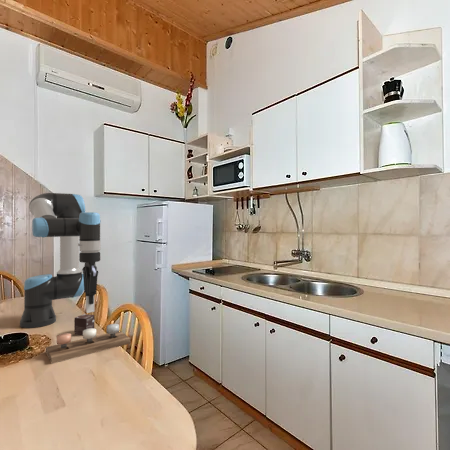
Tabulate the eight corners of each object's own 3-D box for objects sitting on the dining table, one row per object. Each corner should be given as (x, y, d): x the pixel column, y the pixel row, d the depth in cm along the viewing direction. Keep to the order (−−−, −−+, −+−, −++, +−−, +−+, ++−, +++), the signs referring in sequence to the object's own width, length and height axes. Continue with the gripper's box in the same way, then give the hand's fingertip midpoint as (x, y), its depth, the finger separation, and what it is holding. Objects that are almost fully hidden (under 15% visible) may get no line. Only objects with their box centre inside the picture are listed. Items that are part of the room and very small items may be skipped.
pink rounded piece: (55, 346, 111) (55, 335, 111) (69, 343, 114) (69, 332, 114) (57, 351, 108) (57, 338, 108) (72, 347, 111) (72, 335, 111)
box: (86, 335, 130) (85, 318, 130) (73, 334, 131) (73, 317, 131) (94, 330, 136) (94, 314, 136) (83, 329, 137) (83, 313, 137)
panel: (45, 352, 112) (45, 347, 112) (119, 335, 130) (119, 330, 130) (51, 363, 103) (51, 357, 103) (130, 343, 121) (130, 338, 121)
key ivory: (81, 341, 117) (81, 330, 117) (94, 338, 120) (94, 327, 120) (84, 345, 113) (84, 333, 113) (97, 342, 116) (97, 330, 116)
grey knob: (105, 336, 123) (104, 325, 123) (116, 333, 126) (116, 323, 126) (108, 339, 119) (108, 328, 119) (120, 336, 122) (120, 326, 122)
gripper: (75, 251, 120) (75, 310, 119) (84, 253, 110) (84, 317, 109) (95, 250, 124) (95, 306, 124) (105, 252, 114) (105, 313, 114)
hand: (90, 311), depth 117 cm, fingers closed
